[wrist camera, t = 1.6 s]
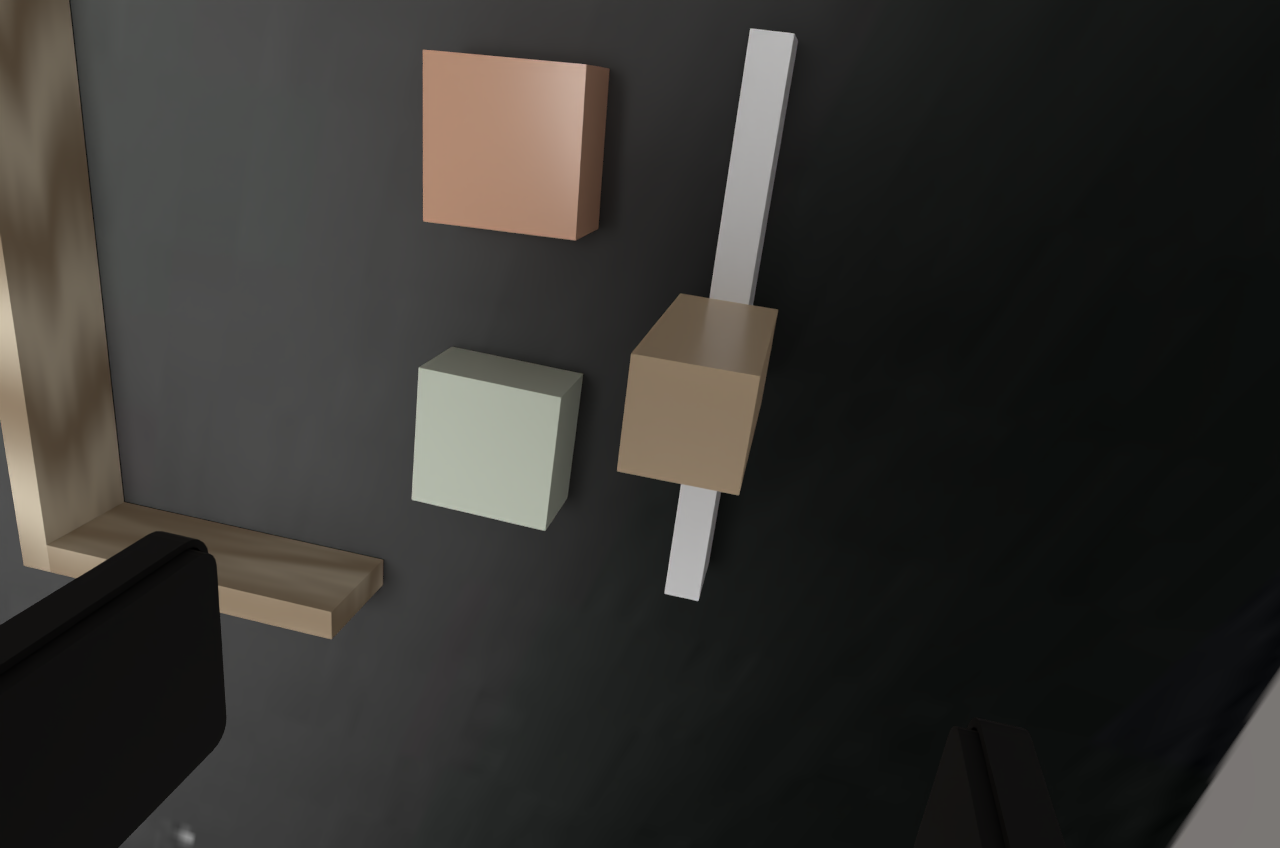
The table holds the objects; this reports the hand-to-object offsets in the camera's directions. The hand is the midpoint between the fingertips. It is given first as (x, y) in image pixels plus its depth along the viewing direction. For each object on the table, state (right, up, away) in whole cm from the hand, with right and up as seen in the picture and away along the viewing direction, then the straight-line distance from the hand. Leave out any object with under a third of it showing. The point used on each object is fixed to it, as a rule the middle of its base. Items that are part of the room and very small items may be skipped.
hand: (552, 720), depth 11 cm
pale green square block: (-4, +4, +22) cm, 22 cm away
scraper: (+4, +7, +19) cm, 21 cm away
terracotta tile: (-2, +13, +18) cm, 22 cm away
